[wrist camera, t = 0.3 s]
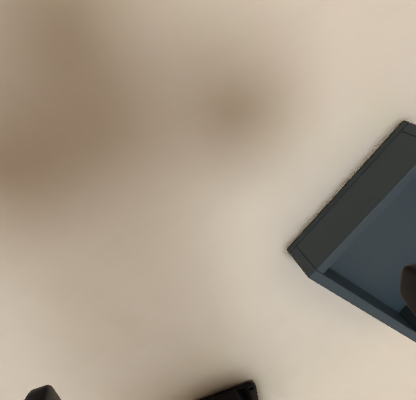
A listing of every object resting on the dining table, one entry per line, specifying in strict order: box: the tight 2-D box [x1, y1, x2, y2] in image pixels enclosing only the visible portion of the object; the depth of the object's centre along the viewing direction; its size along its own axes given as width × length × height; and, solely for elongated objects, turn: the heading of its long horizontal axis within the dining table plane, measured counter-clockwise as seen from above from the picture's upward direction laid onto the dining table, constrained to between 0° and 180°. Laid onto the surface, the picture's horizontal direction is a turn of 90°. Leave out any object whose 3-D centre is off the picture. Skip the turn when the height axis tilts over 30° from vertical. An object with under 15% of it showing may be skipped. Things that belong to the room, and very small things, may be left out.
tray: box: [287, 121, 416, 342], centre depth 28 cm, size 13×17×4 cm
